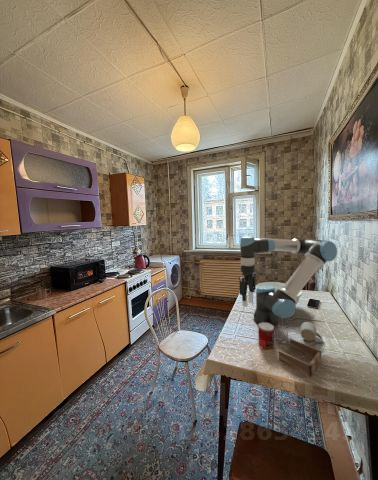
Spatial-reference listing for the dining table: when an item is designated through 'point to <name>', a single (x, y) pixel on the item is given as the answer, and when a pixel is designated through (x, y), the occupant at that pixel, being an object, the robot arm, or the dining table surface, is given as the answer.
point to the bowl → (278, 286)
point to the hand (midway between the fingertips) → (247, 304)
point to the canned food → (266, 335)
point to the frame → (300, 364)
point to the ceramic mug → (309, 332)
